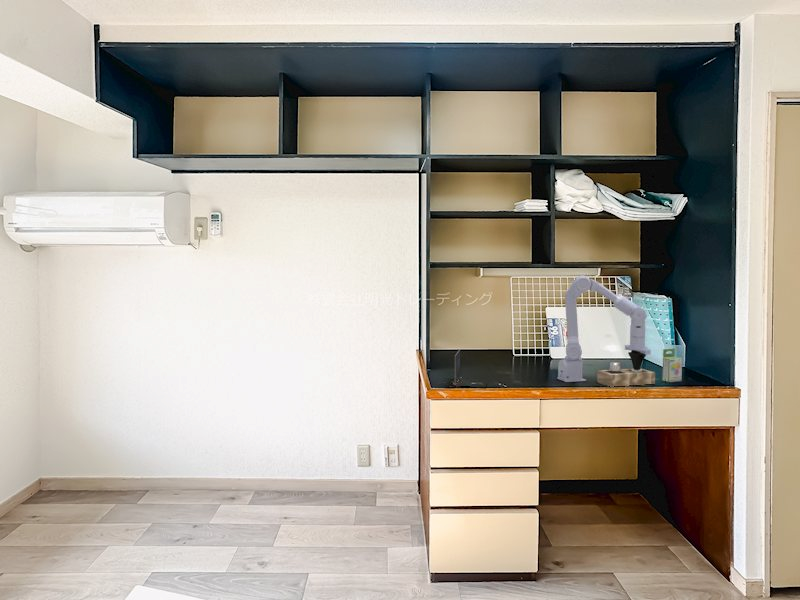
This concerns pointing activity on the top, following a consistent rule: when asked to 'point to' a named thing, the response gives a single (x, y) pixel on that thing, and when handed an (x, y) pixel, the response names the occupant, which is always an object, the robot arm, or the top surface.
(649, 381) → the maple peg block
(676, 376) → the ink box
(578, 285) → the robot arm
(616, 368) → the left steel peg
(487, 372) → the top surface
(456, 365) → the laptop
